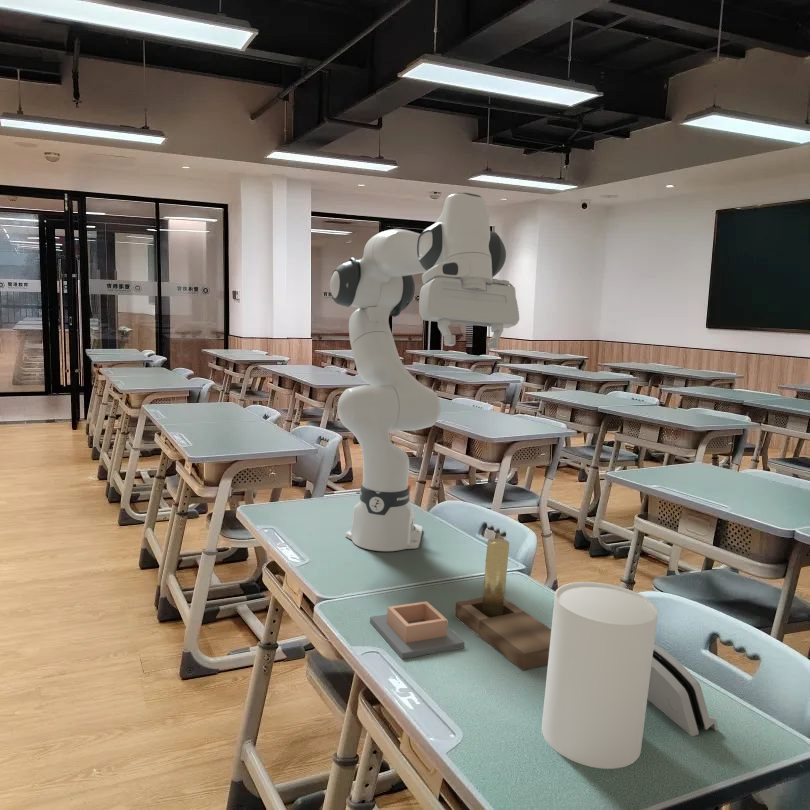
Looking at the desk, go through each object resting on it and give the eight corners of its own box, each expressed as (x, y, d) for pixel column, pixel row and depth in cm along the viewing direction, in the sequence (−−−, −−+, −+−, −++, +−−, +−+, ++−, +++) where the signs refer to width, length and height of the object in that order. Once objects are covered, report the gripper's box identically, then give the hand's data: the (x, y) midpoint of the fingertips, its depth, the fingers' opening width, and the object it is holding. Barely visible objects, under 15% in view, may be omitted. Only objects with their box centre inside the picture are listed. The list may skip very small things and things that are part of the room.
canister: (621, 710, 103) (636, 584, 101) (656, 770, 90) (674, 627, 87) (532, 706, 103) (544, 579, 100) (554, 766, 90) (569, 622, 87)
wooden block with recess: (454, 616, 131) (455, 601, 131) (497, 608, 136) (498, 594, 136) (522, 670, 113) (524, 653, 113) (569, 659, 118) (571, 642, 117)
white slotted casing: (720, 731, 100) (709, 673, 97) (694, 746, 98) (683, 688, 96) (644, 671, 115) (633, 620, 113) (621, 684, 114) (610, 632, 111)
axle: (482, 617, 132) (489, 537, 129) (503, 621, 131) (510, 540, 128) (478, 626, 128) (485, 543, 126) (500, 630, 127) (507, 547, 125)
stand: (369, 622, 127) (371, 601, 126) (427, 613, 132) (429, 593, 131) (401, 658, 114) (403, 636, 114) (464, 647, 119) (466, 626, 119)
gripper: (505, 286, 138) (508, 353, 136) (414, 274, 129) (416, 346, 127) (523, 276, 132) (527, 347, 130) (429, 263, 123) (432, 339, 121)
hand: (471, 346), depth 128 cm, fingers open, 8 cm apart
